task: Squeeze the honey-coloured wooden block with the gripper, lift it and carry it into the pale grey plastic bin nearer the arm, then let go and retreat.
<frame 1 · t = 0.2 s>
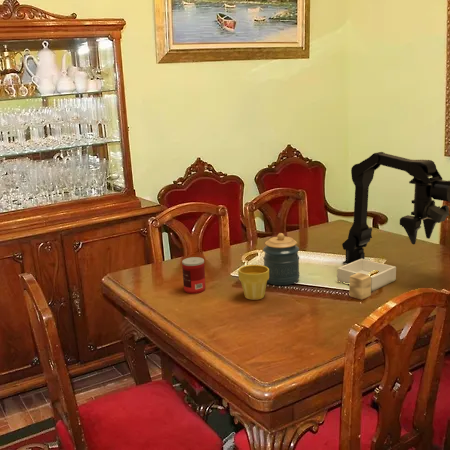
hand: (420, 241, 203), 15 cm above the table, tool pointing down, fingers open, 9 cm apart
wooden block: (359, 295, 196), on the table
canister: (281, 280, 214), on the table
canned food: (194, 290, 208), on the table
plant pot: (254, 296, 200), on the table
bin: (366, 280, 209), on the table
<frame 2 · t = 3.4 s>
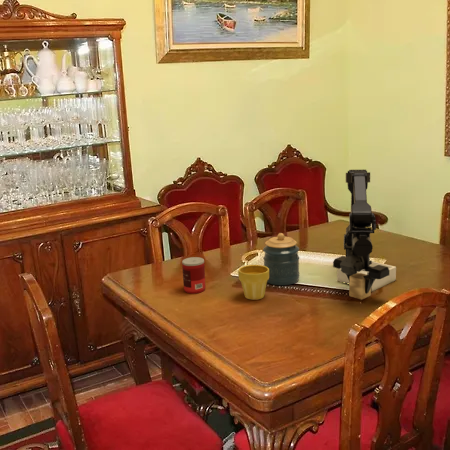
hand: (360, 291, 196), 2 cm above the table, tool pointing down, fingers closed on wooden block, 5 cm apart
wooden block: (359, 295, 196), on the table, touching gripper
everything else where it was.
when the fingers open (4 cm above the table, at t = 8.1 s): wooden block drops 2 cm, resting on bin.
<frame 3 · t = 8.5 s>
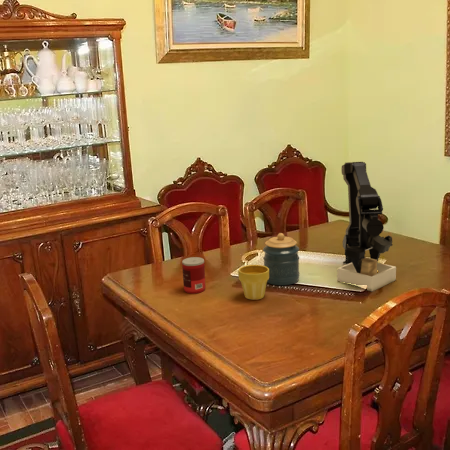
hand: (366, 270, 208), 4 cm above the table, tool pointing down, fingers open, 9 cm apart
wooden block: (366, 278, 209), point 1 cm above the table, touching bin
everything else where it was.
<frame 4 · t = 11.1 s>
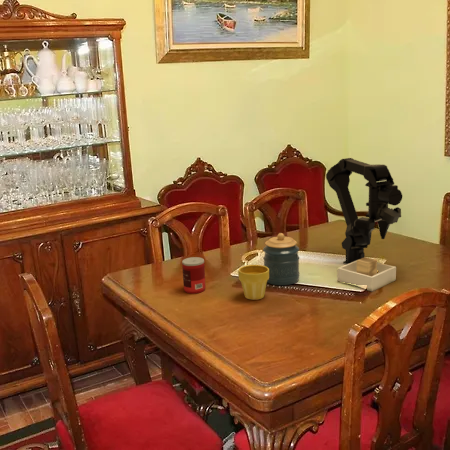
hand: (375, 241, 214), 12 cm above the table, tool pointing down, fingers open, 9 cm apart
nothing on the table moved.
at the end: wooden block inside the target area on the bin (0.0 cm from its centre), point 0.8 cm above the bin's base; wooden block tilted 0°; the gripper is holding nothing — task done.
